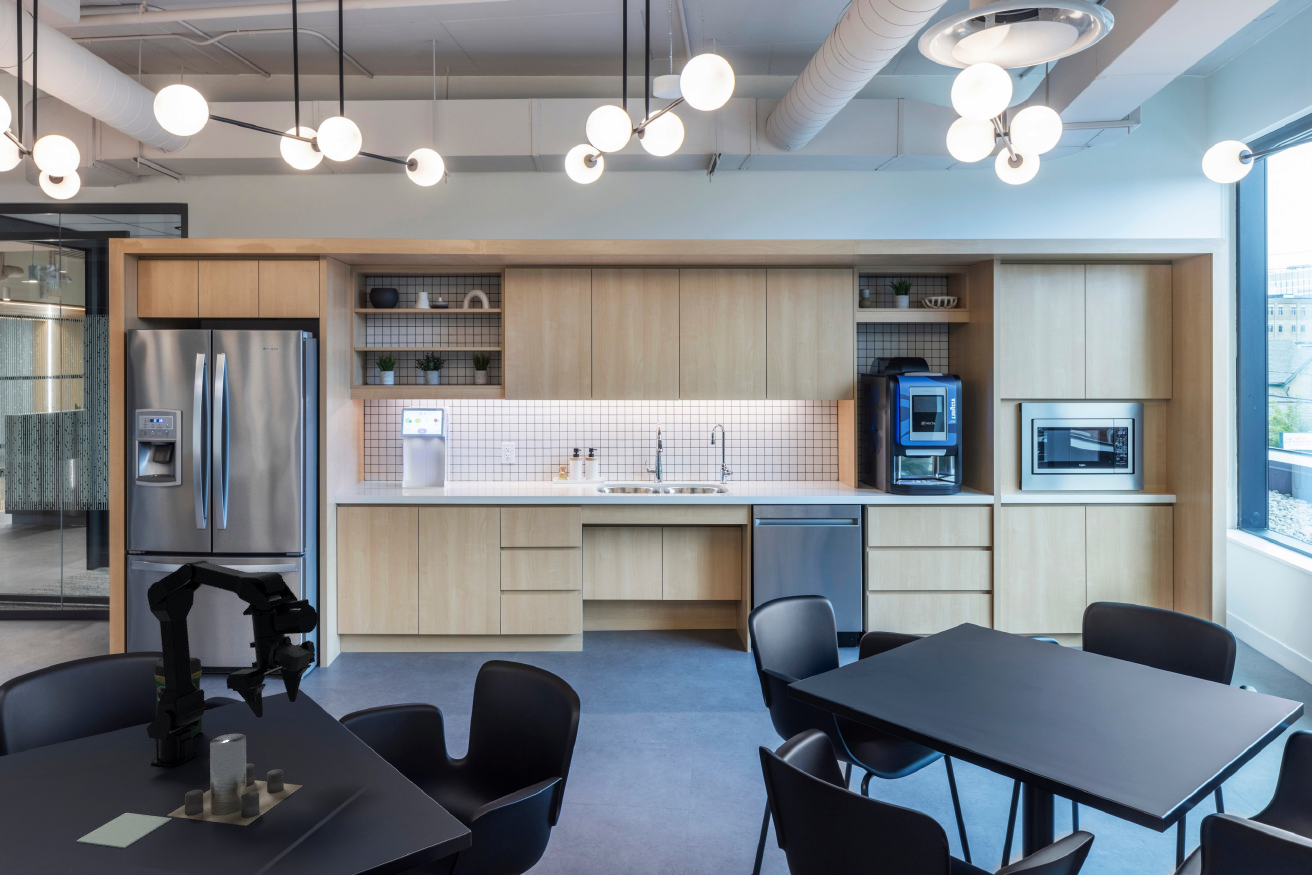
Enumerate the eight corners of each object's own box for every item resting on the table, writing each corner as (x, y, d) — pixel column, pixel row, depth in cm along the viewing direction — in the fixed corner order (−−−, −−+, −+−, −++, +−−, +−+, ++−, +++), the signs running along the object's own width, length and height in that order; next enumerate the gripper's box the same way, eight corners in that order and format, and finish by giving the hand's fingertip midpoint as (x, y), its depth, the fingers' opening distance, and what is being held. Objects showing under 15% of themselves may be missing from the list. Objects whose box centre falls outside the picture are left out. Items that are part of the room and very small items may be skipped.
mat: (166, 818, 146) (166, 796, 146) (229, 780, 161) (229, 760, 161) (246, 828, 142) (246, 806, 142) (303, 788, 158) (303, 768, 158)
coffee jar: (208, 731, 187) (208, 654, 187) (178, 744, 179) (178, 663, 179) (179, 725, 190) (178, 649, 190) (148, 738, 183) (147, 659, 182)
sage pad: (76, 844, 137) (76, 840, 136) (125, 816, 146) (125, 812, 146) (124, 851, 135) (124, 846, 134) (171, 822, 144) (171, 818, 144)
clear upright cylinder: (202, 813, 146) (202, 744, 146) (226, 798, 152) (226, 732, 152) (230, 816, 145) (230, 747, 145) (253, 801, 151) (253, 734, 151)
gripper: (266, 645, 152) (274, 725, 152) (332, 622, 170) (339, 693, 170) (220, 647, 155) (228, 725, 155) (290, 624, 173) (297, 694, 173)
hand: (276, 709), depth 163 cm, fingers open, 9 cm apart
